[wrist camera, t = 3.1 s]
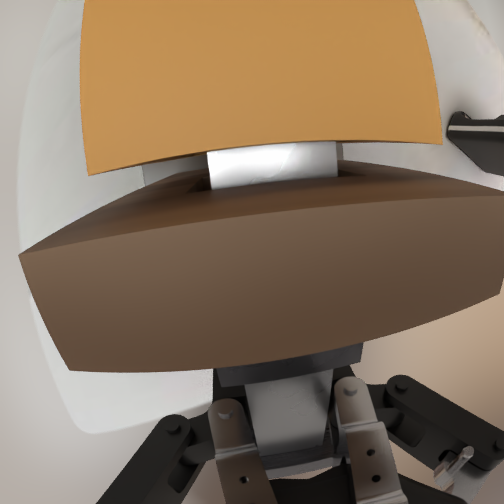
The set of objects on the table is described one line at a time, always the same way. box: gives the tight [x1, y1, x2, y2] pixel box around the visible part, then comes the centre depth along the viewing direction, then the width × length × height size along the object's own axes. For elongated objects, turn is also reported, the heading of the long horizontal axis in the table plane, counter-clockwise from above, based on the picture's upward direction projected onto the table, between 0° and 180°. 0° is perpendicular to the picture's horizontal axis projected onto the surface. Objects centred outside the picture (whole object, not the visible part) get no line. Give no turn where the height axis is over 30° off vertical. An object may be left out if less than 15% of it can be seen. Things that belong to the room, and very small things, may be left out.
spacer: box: [80, 0, 443, 176], centre depth 7 cm, size 4×7×7 cm, turn 96°
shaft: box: [207, 141, 363, 479], centre depth 8 cm, size 21×4×4 cm, turn 6°
